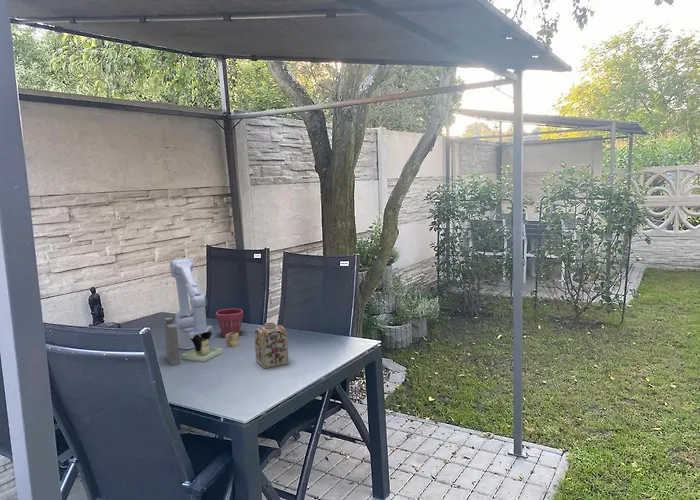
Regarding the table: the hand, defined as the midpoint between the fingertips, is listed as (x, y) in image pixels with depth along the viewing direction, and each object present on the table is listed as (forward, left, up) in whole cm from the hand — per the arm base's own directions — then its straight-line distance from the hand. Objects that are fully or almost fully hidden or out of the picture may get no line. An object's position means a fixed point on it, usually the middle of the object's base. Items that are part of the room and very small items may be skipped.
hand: (202, 349), depth 242 cm
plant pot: (-9, +34, -4) cm, 35 cm away
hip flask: (-10, -9, -4) cm, 14 cm away
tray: (0, 0, -3) cm, 3 cm away
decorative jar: (+37, +2, -4) cm, 37 cm away
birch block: (0, 0, -2) cm, 2 cm away
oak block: (+4, +18, -3) cm, 19 cm away
